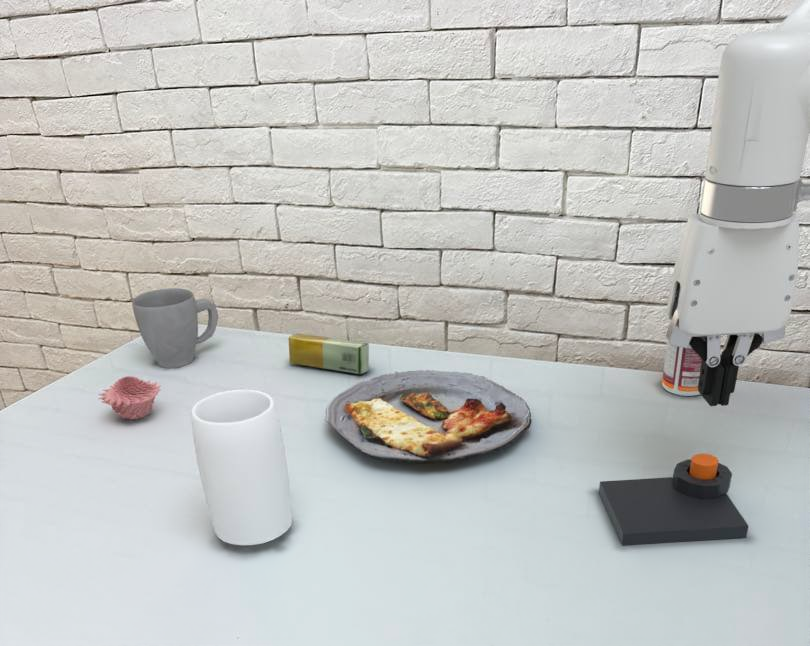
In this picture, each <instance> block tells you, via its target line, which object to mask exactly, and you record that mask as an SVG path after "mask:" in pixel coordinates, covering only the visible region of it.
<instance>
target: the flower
mask: <svg viewBox="0 0 810 646" xmlns="http://www.w3.org/2000/svg"><path fill="white" fill-rule="evenodd" d="M157 384H158V382H157V381H156V382H152V383H151V379H148V380H147V381H144V379H140V378H138V377H137V376H130V375H127V376H123V377H121V378H118V380H117V381H115V382H114V383H113V385H110V386H109V387H110V388H107V389H102V391H103V392H102V393H98V396H100V397H98V400H102V401H101V404H106V405H108V406H111V409H112V410H113V411H114V413H115V414H119V417H122V419H128V420H130V421H132V420H141V418H145V416H148V415H149V414H150V412H151V410H153V404H155V399H156V397H157V396H158V395H159V392H161V391H162V389H161V388H162V385H157ZM101 396H102V397H101Z"/></svg>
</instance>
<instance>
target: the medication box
mask: <svg viewBox="0 0 810 646" xmlns="http://www.w3.org/2000/svg"><path fill="white" fill-rule="evenodd" d="M287 340H288V354H289V358H288V359H289V363H290V364H293V365H300V366H307V367H313V368H319V369H324V370H331V371H336V372H337V371H338V372H345V373H350V374H355V375H360V376H362V375H364V374H367V373H368V372H369V371H370V343H369V342H364V341H356V340H350V339H349V340H348V339H341V338H334V337H328V336H327V337H326V336H320V335H312V334H305V333H299V332H298V333H295V334H293V335H290V336H288V339H287Z"/></svg>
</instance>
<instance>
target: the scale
mask: <svg viewBox="0 0 810 646" xmlns="http://www.w3.org/2000/svg"><path fill="white" fill-rule="evenodd" d="M691 459H692V458H689V459H685V460H682V461H680V462H678V463H677V464H676V465H675V467H674V469H673V475H672V476H671V477H670V476H669V477H652V478H650V477H649V478H635V479H634V478H633V479H619V480H603V481H599V487H598V495H599V497H600V499H601V501H602V503H603V506H604V508H605V510H606V512H607V514H608V516H609V519H610V521H611V523H612V526H613V528H614V530H615V533H616V534H617V537H618V539H619V541H620V543H621V546H632V545H633V546H634V545H648V544H665V543H667V544H668V543H681V542H683V543H685V542H698V541H699V542H701V541H715V540H716V541H717V540H733V539H746V538H747V535H748V531H749V524H748V523H747V521H746V519H745V518H744V517H743V515H742V514H741V513H740V511H739V509H738V508H737V507H736V505H735V504H734V502H733V501H732V500H731V498H730V496H729V495H728V492H729V490H730V488H731V483H732V478H733V473H732V471H731V470H730V469H729V467H728V466H727V465H724V464H723V463H720V462H718V467H717V473H716V477H715V478H714V479H705V480H704V479H699V478H695V477H693V476H691V475H690V474H689V472H690V465H691Z"/></svg>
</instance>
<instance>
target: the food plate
mask: <svg viewBox="0 0 810 646" xmlns="http://www.w3.org/2000/svg"><path fill="white" fill-rule="evenodd" d="M324 421H325V422H326V423H328V425H329V426H331V427H332V428H334V430H335V431H337V432H338V434H339V435H340V436H342V437H343V438H344V439H345V440H347V441H348V442H349V443H350V444H352V445H353V446H354V447H355V448H356V449H358V450H359V451H360V452H362V453H365V454H367V455H369V456H370V457H375V458H376V459H379V460H385V461H391V462H393V461H395V462H406V463H411V464H412V463H415V464H416V463H417V464H428V463H429V464H430V463H449V462H450V463H451V462H454V461H455V462H456V461H457V460H461V459H467V458H470V457H471V458H472V457H476V456H479V455H483V454H486V453H489V452H496V451H497V452H498V451H499V450H501V449H503V448H505V447H507V446H509V445H512V443H514V442H515V441H517V439H518V438H519V437H520V436H521V435H522V434H523V433H524V432H525V431H528V430H529V429H530V428H531V425H532V412H531V409H530V407H529V405H528V403H527V401H526V400H525V399H524V398H522V397H521V396H520V395H517V393H514V392H512V391H511V390H510V389H507V388H505V387H504V386H503V385H500V384H498V383H497V382H495V381H493V380H490V378H488V377H486V376H484V375H479V374H475V373H470V372H461V371H460V372H459V371H443V370H441V371H440V370H431V369H425V370H423V369H420V370H407V371H400V372H399V371H395V372H394V373H387V374H386V373H385V374H382V375H379V376H375V377H372V378H370V379H367V380H362V381H359V382H356V383H354V384H353V385H351V386H350V387H348V388H346V389H345V390H343V391H340V392H339V393H337V395H335V396H334V397H333V398H332V399H331V400H330V402H328V404H327V406H326V408H325V420H324Z"/></svg>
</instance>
